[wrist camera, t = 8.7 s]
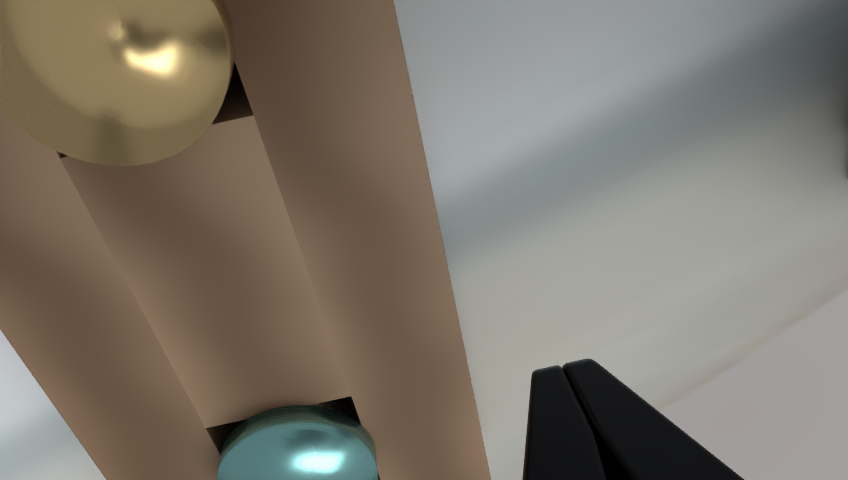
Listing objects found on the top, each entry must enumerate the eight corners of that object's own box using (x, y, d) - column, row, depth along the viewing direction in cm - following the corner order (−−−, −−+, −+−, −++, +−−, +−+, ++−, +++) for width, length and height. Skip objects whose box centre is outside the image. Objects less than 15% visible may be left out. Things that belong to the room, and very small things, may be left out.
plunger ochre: (214, -132, 16) (173, -112, 12) (276, 64, 19) (260, 138, 15) (16, -88, 16) (-97, -52, 12) (106, 102, 19) (40, 187, 15)
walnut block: (316, -345, 15) (311, -399, 11) (478, 434, 29) (501, 527, 25) (-215, -227, 15) (-402, -240, 11) (207, 494, 29) (188, 596, 25)
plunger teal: (352, 305, 24) (357, 414, 20) (382, 401, 27) (392, 515, 22) (216, 335, 24) (191, 450, 20) (260, 428, 27) (246, 547, 22)
